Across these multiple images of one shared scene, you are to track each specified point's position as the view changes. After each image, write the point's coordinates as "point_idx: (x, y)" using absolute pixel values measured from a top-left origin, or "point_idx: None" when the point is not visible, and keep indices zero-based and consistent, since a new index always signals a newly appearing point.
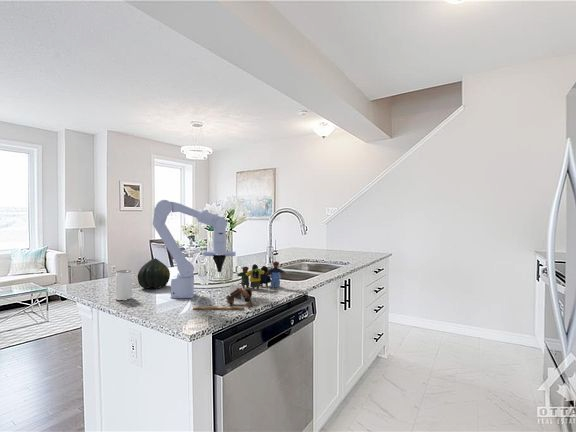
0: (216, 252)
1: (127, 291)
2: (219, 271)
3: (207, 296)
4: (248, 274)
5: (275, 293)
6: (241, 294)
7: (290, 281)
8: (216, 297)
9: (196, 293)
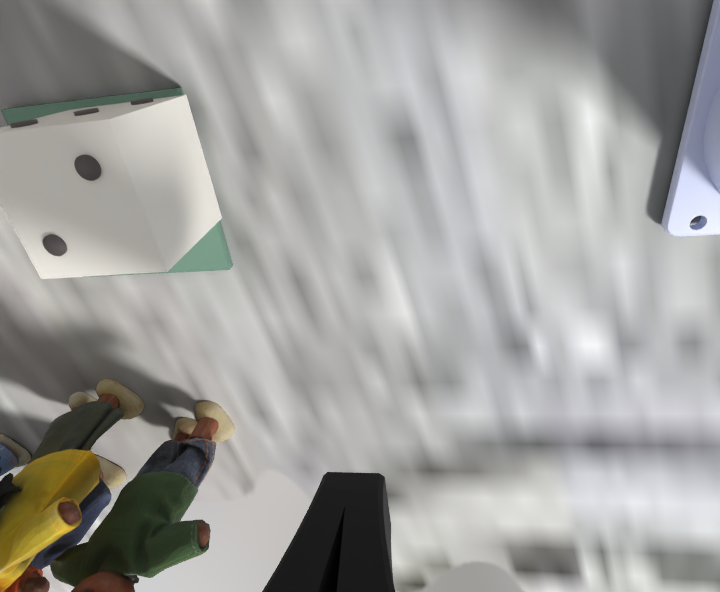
0: None
1: None
2: (343, 478)
3: (491, 119)
4: (40, 513)
5: None
6: None
7: None
8: (357, 79)
9: (664, 217)
